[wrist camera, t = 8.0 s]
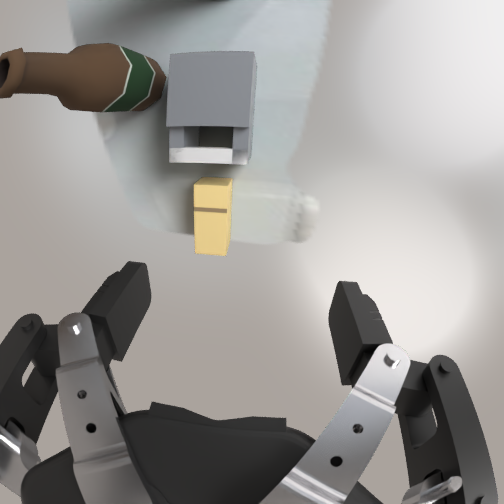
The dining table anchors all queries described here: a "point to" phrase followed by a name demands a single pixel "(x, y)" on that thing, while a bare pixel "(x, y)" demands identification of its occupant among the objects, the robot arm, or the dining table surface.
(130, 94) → the beer bottle
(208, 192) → the yellow rectangular block
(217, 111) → the dispenser
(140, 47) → the dining table surface
